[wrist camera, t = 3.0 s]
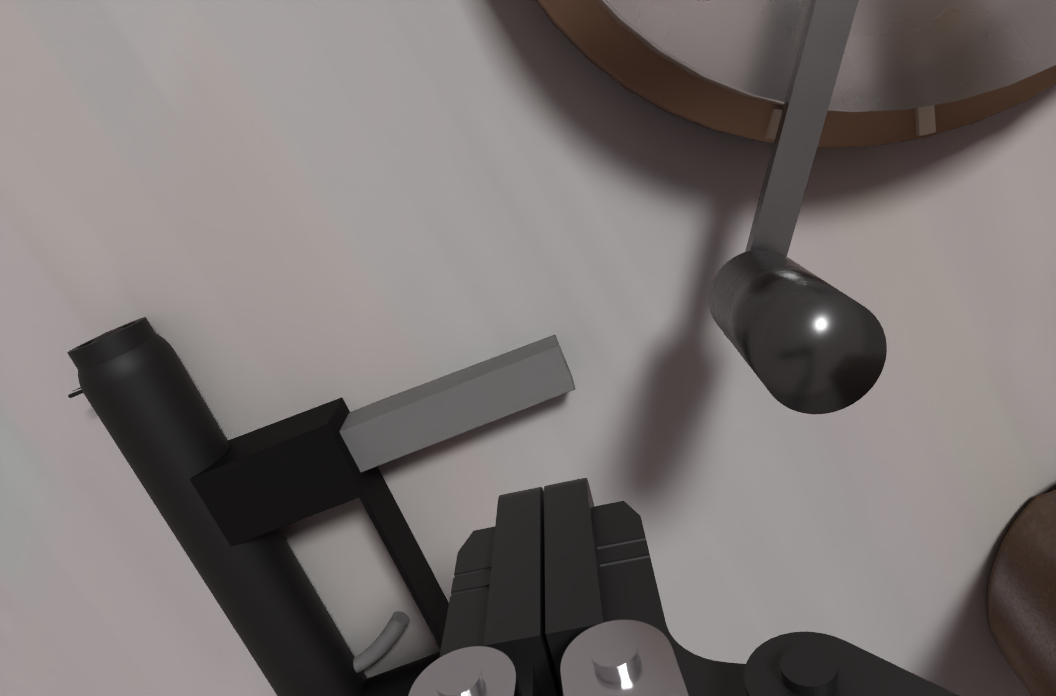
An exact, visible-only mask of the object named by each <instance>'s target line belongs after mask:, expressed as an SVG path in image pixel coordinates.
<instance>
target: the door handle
mask: <svg viewBox="0 0 1056 696" xmlns="http://www.w3.org/2000/svg"><path fill="white" fill-rule="evenodd" d="M67 353H68V355H69V356H70V358H71V359H72V361H73V362H74V364H75V366H76V367H77V369H78V378H79V383H80V386H81V387H80V388H81V390H79V391H77V392H74V393H72V394H69V395H68V397H69V398H72V397H74V396H76V395H79V394H81V393H84V394H85V396H86V398H87V399H88V401H89V402H90V404H91V405H92V407H93V408H94V410H95V412H96V413H97V415H98V416H99V418H100V419H101V421H102V423H103V424H104V426H105V427H106V429H107V430H108V432H109V433H110V435H111V437H112V438H113V440H114V441H115V443H116V444H117V446H118V448H119V449H120V451H121V452H122V454H123V455H124V457H125V458H126V460H127V462H128V463H129V465H130V466H131V468H132V469H133V471H134V472H135V474H136V476H137V477H138V479H139V480H140V482H141V483H142V485H143V487H144V488H145V490H146V491H147V493H148V494H149V496H150V497H151V499H152V501H153V502H154V504H155V505H156V507H157V508H158V510H159V511H160V513H161V515H162V516H163V518H164V519H165V521H166V522H167V524H168V526H169V527H170V529H171V530H172V532H173V533H174V535H175V536H176V538H177V540H178V541H179V543H180V544H181V546H182V547H183V549H184V551H185V552H186V554H187V555H188V557H189V558H190V560H191V561H192V563H193V565H194V566H195V568H196V569H197V571H198V572H199V574H200V575H201V577H202V579H203V580H204V582H205V583H206V585H207V586H208V588H209V590H210V591H211V593H212V594H213V596H214V597H215V599H216V600H217V602H218V604H219V605H220V607H221V608H222V610H223V611H224V613H225V614H226V616H227V618H228V619H229V621H230V622H231V624H232V625H233V627H234V629H235V630H236V632H237V633H238V635H239V636H240V638H241V639H242V641H243V643H244V644H245V646H246V647H247V649H248V650H249V652H250V653H251V655H252V657H253V658H254V660H255V661H256V663H257V664H258V666H259V668H260V669H261V671H262V672H263V674H264V675H265V677H266V678H267V680H268V682H269V683H270V685H271V686H272V688H273V689H274V691H275V693H276V694H277V696H408V695H409V692H410V690H411V687H412V685H413V684H414V682H415V680H416V679H417V678H418V676H419V675H420V674H421V673H422V672H423V671H424V670H425V669H426V668H427V667H428V666H429V665H430V664H432V663H433V662H434V661H435V660H437V659H439V657H440V652H439V653H437V654H434V655H431V656H428V657H426V658H423V659H420V660H417V661H415V662H412V663H409V664H406V665H404V666H401V667H398V668H395V669H393V670H390V671H387V672H384V673H382V674H379V675H376V676H373V677H371V678H368V679H367V678H366V676H365V675H364V673H363V670H365V669H366V668H368V667H369V666H371V665H372V664H374V663H375V662H376V661H378V660H379V659H380V658H381V657H382V656H383V655H384V654H385V653H386V652H387V651H388V650H389V649H390V648H391V647H392V646H393V645H394V643H395V642H396V641H397V640H398V638H399V637H400V635H401V634H402V632H403V631H404V629H405V628H406V626H407V624H408V622H409V618H408V616H407V615H406V614H405V613H403V612H400V611H397V612H395V613H394V614H393V616H392V617H391V619H390V621H389V623H388V624H387V626H386V627H385V629H384V630H383V632H382V633H381V634H380V636H379V637H378V638H377V639H376V640H375V641H374V643H373V644H372V645H371V646H370V647H369V648H367V649H366V650H365V651H364V652H363V653H361V654H360V655H358V656H357V657H355V658H354V656H353V654H352V653H351V651H350V649H349V647H348V646H347V644H346V642H345V641H344V639H343V637H342V635H341V634H340V632H339V630H338V629H337V627H336V625H335V624H334V622H333V620H332V618H331V617H330V615H329V613H328V612H327V610H326V608H325V607H324V605H323V603H322V601H321V600H320V598H319V596H318V595H317V593H316V591H315V589H314V588H313V586H312V584H311V583H310V581H309V579H308V578H307V576H306V574H305V572H304V571H303V569H302V567H301V566H300V564H299V562H298V560H297V559H296V557H295V555H294V554H293V552H292V550H291V549H290V547H289V545H288V543H287V542H286V540H285V538H284V537H283V535H282V533H281V532H280V530H279V528H281V527H283V526H286V525H289V524H291V523H294V522H296V521H299V520H301V519H304V518H307V517H309V516H312V515H314V514H317V513H320V512H322V511H325V510H327V509H330V508H333V507H335V506H338V505H340V504H343V503H346V502H348V501H351V500H353V499H356V498H360V500H361V502H362V503H363V505H364V507H365V509H366V511H367V513H368V515H369V516H370V518H371V520H372V522H373V524H374V526H375V528H376V529H377V531H378V533H379V535H380V537H381V539H382V541H383V542H384V544H385V546H386V548H387V550H388V552H389V554H390V555H391V557H392V559H393V561H394V563H395V565H396V567H397V568H398V570H399V572H400V574H401V576H402V578H403V580H404V581H405V583H406V585H407V587H408V589H409V591H410V593H411V594H412V596H413V598H414V600H415V602H416V604H417V606H418V607H419V609H420V611H421V613H422V615H423V617H424V619H425V620H426V622H427V624H428V626H429V628H430V630H431V632H432V633H433V635H434V637H435V639H436V641H437V643H438V645H439V646H440V648H441V645H442V640H443V634H444V629H445V623H446V617H447V612H448V606H449V603H448V601H447V599H446V597H445V595H444V593H443V591H442V589H441V587H440V586H439V584H438V582H437V580H436V578H435V576H434V574H433V572H432V570H431V568H430V566H429V564H428V563H427V561H426V559H425V557H424V555H423V553H422V551H421V549H420V547H419V545H418V543H417V541H416V540H415V538H414V536H413V534H412V532H411V530H410V528H409V526H408V524H407V522H406V520H405V518H404V516H403V515H402V513H401V511H400V509H399V507H398V505H397V503H396V501H395V499H394V497H393V495H392V493H391V492H390V490H389V488H388V486H387V484H386V482H385V480H384V478H383V476H382V474H381V472H380V470H379V469H378V467H377V466H379V465H381V464H384V463H386V462H389V461H392V460H394V459H397V458H399V457H402V456H404V455H407V454H410V453H412V452H415V451H417V450H420V449H423V448H425V447H428V446H430V445H433V444H435V443H438V442H441V441H443V440H446V439H448V438H451V437H453V436H456V435H459V434H461V433H464V432H466V431H469V430H471V429H474V428H477V427H479V426H482V425H484V424H487V423H489V422H492V421H495V420H497V419H500V418H502V417H505V416H508V415H510V414H513V413H515V412H518V411H520V410H523V409H526V408H528V407H531V406H533V405H536V404H538V403H541V402H544V401H546V400H549V399H551V398H554V397H556V396H559V395H562V394H564V393H567V392H569V391H572V390H574V389H575V385H574V381H573V378H572V375H571V372H570V370H569V368H568V365H567V363H566V360H565V358H564V355H563V353H562V350H561V348H560V346H559V343H558V341H557V338H556V336H555V335H553V336H550V337H548V338H545V339H542V340H540V341H537V342H534V343H532V344H529V345H526V346H524V347H521V348H518V349H516V350H513V351H510V352H508V353H505V354H502V355H500V356H497V357H494V358H492V359H489V360H486V361H484V362H481V363H478V364H476V365H473V366H470V367H468V368H465V369H462V370H460V371H457V372H454V373H452V374H449V375H446V376H444V377H441V378H438V379H436V380H433V381H430V382H428V383H425V384H422V385H420V386H417V387H414V388H412V389H409V390H406V391H404V392H401V393H398V394H396V395H393V396H390V397H388V398H385V399H383V400H380V401H378V402H375V403H373V404H370V405H368V406H365V407H363V408H360V409H358V410H355V411H353V412H350V411H349V410H348V408H347V406H346V404H345V402H344V400H343V398H339V399H337V400H334V401H331V402H329V403H326V404H323V405H321V406H318V407H316V408H313V409H310V410H308V411H305V412H302V413H300V414H297V415H294V416H292V417H289V418H286V419H284V420H281V421H279V422H276V423H273V424H271V425H268V426H265V427H263V428H260V429H257V430H255V431H252V432H249V433H247V434H244V435H242V436H239V437H236V438H234V439H231V440H228V441H227V439H226V438H225V436H224V434H223V433H222V431H221V429H220V428H219V426H218V424H217V422H216V421H215V419H214V417H213V416H212V414H211V412H210V410H209V409H208V407H207V405H206V404H205V402H204V400H203V399H202V397H201V395H200V393H199V392H198V390H197V388H196V387H195V385H194V383H193V382H192V380H191V378H190V376H189V375H188V373H187V371H186V370H185V368H184V366H183V364H182V363H181V361H180V359H179V358H178V356H177V354H176V353H175V351H174V349H173V348H172V346H171V345H170V344H169V343H168V342H167V341H166V340H165V339H164V338H162V337H161V336H159V335H158V334H156V333H155V332H154V330H153V329H152V327H151V325H150V323H149V322H148V320H147V318H146V317H144V318H141V319H138V320H135V321H133V322H130V323H128V324H125V325H123V326H121V327H118V328H116V329H114V330H111V331H109V332H106V333H104V334H102V335H101V336H98V337H96V338H94V339H92V340H90V341H88V342H86V343H84V344H82V345H80V346H78V347H76V348H74V349H72V350H70V351H69V352H67ZM80 388H78V389H80ZM76 390H77V389H76ZM74 391H75V390H74Z"/></svg>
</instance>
